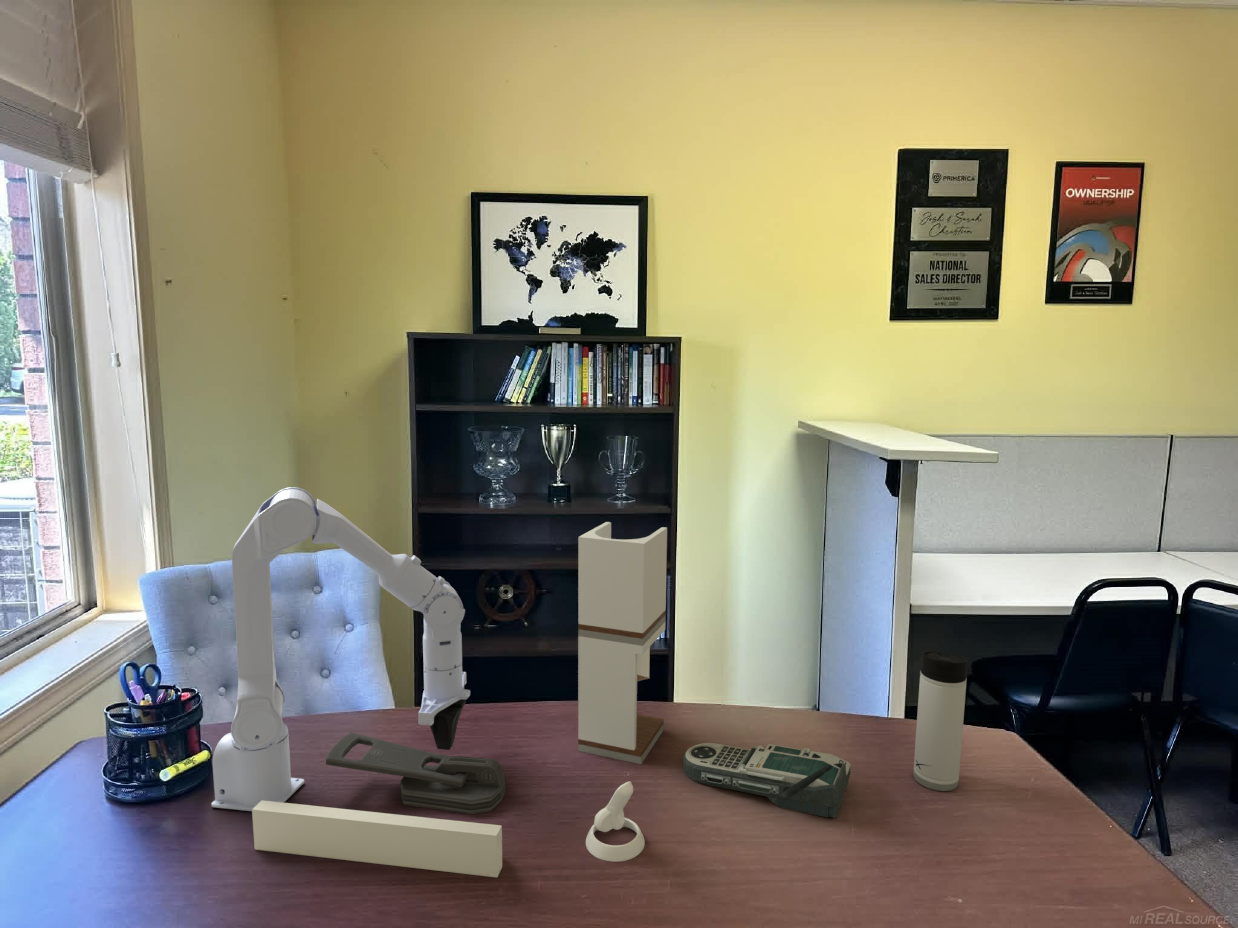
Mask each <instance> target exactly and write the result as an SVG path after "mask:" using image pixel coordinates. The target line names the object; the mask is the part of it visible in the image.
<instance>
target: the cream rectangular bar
mask: <svg viewBox="0 0 1238 928" xmlns="http://www.w3.org/2000/svg"><path fill="white" fill-rule="evenodd" d="M251 815H252V816H251V817H252V828H253V829H252V830H253V832H252V833H253V843H254V845H253V846H254V850H256V851H264V852H275V853H281V854H291V855H300V856H309V857H317V858H325V859H326V858H327V859H335V860H343V861H344V860H345V861H351V862H360V863H368V864H378V865H386V866H395V867H401V868H402V867H403V868H413V869H418V870H419V869H420V870H421V869H422V870H428V871H429V870H430V871H437V872H438V871H440V872H447V873H448V872H449V873H455V874H463V875H464V874H465V875H473V876H481V877H489V878H498V877H499V875H500V873H501V870H502V868H503V826H502V825H499V824H493V823H492V824H491V823H490V824H489V823H482V822H481V823H480V822H472V821H462V820H454V819H442V818H441V819H440V818H436V817H435V818H433V817H424V816H414V815H406V814H405V815H404V814H395V813H385V812H376V811H375V812H374V811H367V810H357V809H348V808H347V809H346V808H338V807H328V806H320V805H319V806H318V805H310V804H299V803H291V802H290V803H289V802H284V803H282V802H273V801H263V800H262V801H261V802H259V803H258V804H257V805H256V806H255V807H254V808H253V809H252V811H251Z"/></svg>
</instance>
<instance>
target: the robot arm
mask: <svg viewBox="0 0 1238 928" xmlns="http://www.w3.org/2000/svg"><path fill="white" fill-rule="evenodd" d="M310 537H312V538H311V543H312V544H334V545H336V546H338V547H339V548H340V549H342V550H344V552H347V553H348V554H349V555H351V556H352V557H354V558H356V559H357V560H359V561H360V562H361V563H363V564H364V565H366V566H367V567H369V568H370V569H371V570H373V571H375V572H376V573H378V584H379V586H380V588H382V589H384V590H385V591H387V592H388V593H389V594H391V595H392V596H394V597H395V598H396V599H397V600H399V601H401V603H403V604H404V605H406V606H407V607H408V608H410V609H412V610H413V611H417V612H420V613H421V614H423V635H422V653H423V657H422V658H423V661H422V662H423V689H424V690H423V692H422V699H421V706H420V710H419V711H418V712H417V714H418V717H417V718H418V719H417V721H418V725H421V726H429V727H430V730H431V733H432V736H433V740H434V742H435V746H436V748H437V750H445V751H446V750H448V751H450V750H451V749H452V748H453V745H454V743H455V738H456V733H457V728H458V723H459V719H460V716H461V714H462V711H463V709H464V706H465V704H466V703H467V701H466V700H467V699H469V697H470V696H471V690H470V689H465V686H466V684H467V672H466V671H463V643H462V642H463V641H462V639H463V637H462V632H461V623H462V622H463V620H464V617H465V614H466V609H465V608H464V605H463V602H462V600H461V597H460V596H459V594H458V592H457V591H456V589H454V587H452V586H451V584H450V582H448V581H446V580H445V578H444V577H442V576H440V575H439V576H438V577H436V575H434V574H433V573H432V572H430V571H429V570H427V569H426V568H424V567H423V566H422V565H421V564H422V561H421V559H420V558H419V557H418V556H416V555H414V554H413V555H412V556H411V557H410V556H409V555H408V554H406V553H398V554H392V553H390V552H389V551H388V550H386V549H385V548H384V547H383V546H381V545H380V544H379V543H378V542H377V541H375V540H374V539H373V538H372V537H370V536H369V535H368V534H367V533H365V532H364V531H363V530H362V529H361V528H359V527H358V526H357V525H356V524H354V523H353V522H352V521H351V520H349V519H348V518H347V517H346V516H344V515H343V514H342V513H341V512H339V511H338V510H337V509H335V508H334V507H332V506H331V505H330V504H328V503H327V502H325V501H323V500H321V499H319V498H316V501H315V499H314V497H313V496H312V494H311V493H309V491H307V490H305V489H303V488H301V487H294V486H291V487H285V488H282V489H280V490H278V491H277V492H275V493H274V494H273V495H272V496H270V497H269V498H267V499H266V500H265V501H264V502H262V504H261V505H260V507H259V508H258V510H257V511H256V513H255V514H254V516H253V517H252V519H251V521H249V523H248V525H246V527H245V529H244V530H243V532H242V534H241V535H240V536H239V538H238V539H237V540H236V542H235V544H234V546H233V548H232V550H231V551H232V552H231V566H232V567H231V568H232V587H233V603H234V604H233V605H234V620H235V621H234V623H235V636H236V637H235V638H236V639H235V640H236V655H237V658H236V659H237V676H238V677H237V678H238V680H237V681H238V683H237V698H236V708H235V712H234V718H233V719H232V722H231V726H230V732H228V733H226V734H224V736H222V738H221V739H220V740H219V741H218V742H217V744H216V747H215V748H214V751H213V755H212V756H213V757H212V773H213V774H212V775H213V787H214V788H213V789H214V800H213V801H212V802H211V803H210V804H211V807H212V808H219V809H227V810H236V811H237V810H238V811H247V812H252V809H253V808H254V807H255V806H256V805H257V804H258V803H259V802H261V801H262V800H263V801H273V802H282V803H286V801H287V800H288V799H289V798H290V797H291V796H293V795H294V794H295V792H296V791H297V790H299V788H300V787H301V786H302V785H304V783H305V779H304V778H297V777H292V775H291V774H292V773H291V772H292V771H291V758H290V757H291V753H290V739H289V738H290V737H289V726H287V724H286V723H285V722H284V720H283V718H282V717H283V708H284V703H285V697H286V695H285V692H284V690H283V688H282V687H281V685H280V684H279V682H278V679H277V678H278V677H277V669H276V664H275V663H276V662H275V643H274V626H273V625H274V624H273V623H274V622H273V605H272V604H273V603H272V586H271V585H272V581H271V562H272V561H274V559H276V558H277V557H278V556H279V555H280V554H281V553H282V552H284V551H285V550H286V549H289V548H292V547H294V546H296V545H299V544H301V543H303V542H304V541H306V540H308V539H309V538H310Z"/></svg>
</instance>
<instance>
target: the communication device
mask: <svg viewBox="0 0 1238 928" xmlns="http://www.w3.org/2000/svg"><path fill="white" fill-rule="evenodd" d="M682 768H683V773H684V774H685V775H687V777H688V778H690V779H691V780H692V781H694V782H697V783H699V784H703V785H707V786H712V787H718V788H722V789H727V790H732V791H737V792H742V793H747V794H751V795H757V796H761V797H767V799H769V800H770V801H771V802H772V803H773V804H774V805H775V806H777V807H779V808H783V809H787V810H791V811H796V812H800V813H803V814H804V813H805V814H809V815H814V816H818V817H822V818H823V817H824V818H833V819H835V818H836V817H837V815H838V814H839V813H838V812H839V810H840V808H841V804H842V802H843V799H844V796H845V792H846V791H847V788H848V786H849V780H850V777H851V771H852V770H851V763H850V762H849V761H847V760H845V759H843V758H841V757H839V756H837V755H834V754H832V753H825V752H820V751H813V750H811V749H810V748H808V747H807V748H806V747H803V748H802V749H800V748H797V747H796V748H795V747H791V746H789V747H788V746H784V745H779V744H772V743H768V744H767V745H766V746H765V748H764V747H763V746H762V745H757V746H755V745H754V746H752V747H751V749H750V748H744V747H739V746H733V745H728V744H727V745H726V744H722V743H714V742H703V743H698V744H695V745H692V746H691V747H689V748H688V749H686V750H685V751H684V752H683V754H682Z"/></svg>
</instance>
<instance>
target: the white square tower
mask: <svg viewBox="0 0 1238 928" xmlns="http://www.w3.org/2000/svg"><path fill="white" fill-rule="evenodd" d="M577 541H578V545H577V547H578V548H577V549H578V551H577V552H578V554H577V556H578V560H577V561H578V562H577V563H578V567H577V568H578V569H577V570H578V573H577V575H578V576H577V577H578V579H577V580H578V581H577V582H578V584H577V585H578V587H577V591H578V592H577V593H578V595H577V596H578V597H577V599H578V600H577V601H578V602H577V603H578V607H577V608H578V613H577V615H578V620H577V622H578V624H577V627H578V628H577V629H578V631H577V632H578V634H577V635H578V638H577V641H578V642H577V643H578V646H577V648H578V649H577V651H578V652H577V654H578V656H577V658H578V662H577V663H578V665H577V667H578V670H577V673H578V675H577V677H578V678H577V679H578V680H577V682H578V683H577V684H578V687H577V689H578V692H577V693H578V694H577V695H578V697H577V700H578V703H577V706H578V707H577V711H578V713H577V714H578V715H577V721H578V723H577V727H578V729H577V732H578V733H577V736H578V737H577V742H578V743H577V748H578V749H577V751H578V752H580V753H581V752H582V753H586V754H590V755H591V754H592V755H594V756H595V755H596V756H601V757H606V758H609V759H613V760H614V759H615V760H620V761H625V762H629V763H633V764H639V765H642V764H643V762H644V760H645V759H646V758H647V756H648V754H649V753H650V752H651V750H652V748H653V747H654V746H655V744H656V742H657V741H658V739H659V738H660V736H661V735H662V733H664V723H665V722H664V721H665V720H664V718H660V717H655V716H649V715H644V714H639V713H638V712H637V707H638V706H637V705H638V704H637V703H638V701H637V700H638V696H637V695H638V682H641V681H643V680H648V679H650V657H651V656H650V653H651V652H650V651H651V650H650V648H651V646H652V645H653V644H654V643H655V642H656V640H658V638H659V637H660V636H661V635H662V633H664V631H666V615H667V614H666V612H667V611H666V609H667V607H666V606H667V558H668V557H667V554H668V553H667V552H668V551H667V550H668V527H667V526H666V527H664V526H663V527H660V528H659V529H657V530H656V531H654V532H652V533H651V534H650V535H648V536H645V537H640V538H632V539H620V538H619V539H616V538H612V522H610V521H605V522H604V523H603V522H602V524H600V525H598V526H596V527H594V528H593V529H591V530H589V531H587V532H585V533H583V534H581V535H580V536H578V539H577Z"/></svg>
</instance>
